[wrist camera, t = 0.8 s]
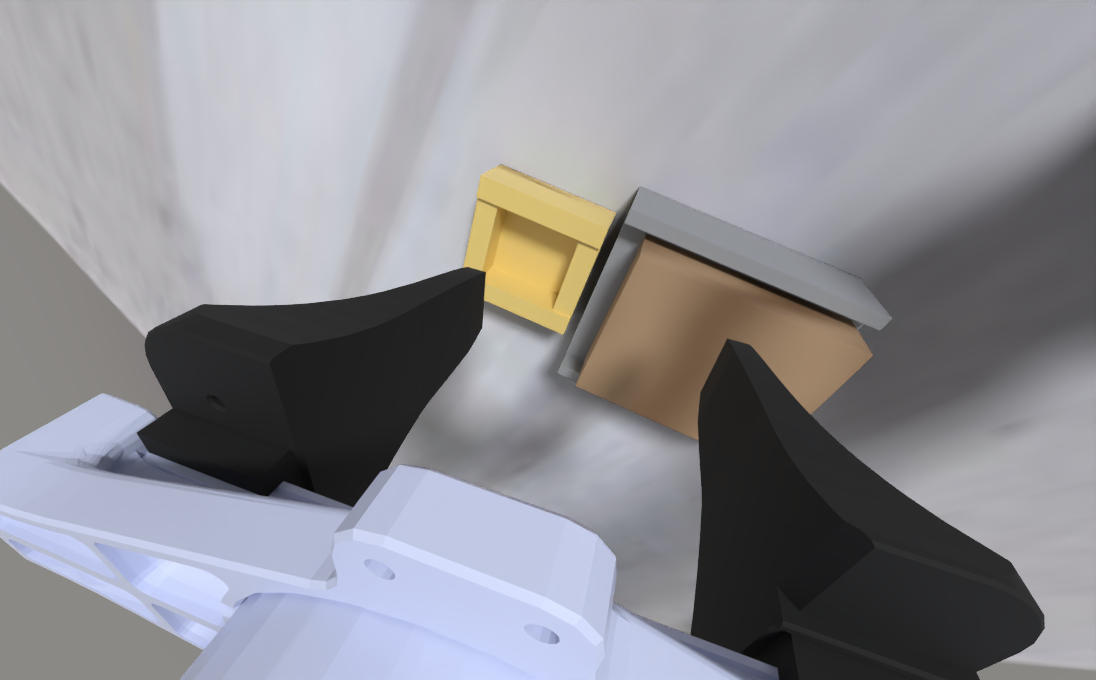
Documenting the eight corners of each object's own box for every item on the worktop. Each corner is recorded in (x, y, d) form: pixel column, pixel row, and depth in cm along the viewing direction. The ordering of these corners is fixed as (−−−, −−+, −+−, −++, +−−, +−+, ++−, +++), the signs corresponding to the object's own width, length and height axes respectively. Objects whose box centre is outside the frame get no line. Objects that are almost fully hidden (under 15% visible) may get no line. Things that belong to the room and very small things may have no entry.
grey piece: (860, 278, 18) (892, 318, 15) (742, 410, 24) (749, 458, 21) (639, 186, 19) (630, 208, 16) (573, 336, 24) (557, 373, 21)
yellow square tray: (616, 212, 20) (608, 228, 18) (573, 312, 23) (563, 334, 21) (501, 164, 20) (481, 174, 18) (476, 270, 24) (457, 288, 22)
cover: (851, 320, 17) (873, 355, 15) (749, 427, 21) (756, 466, 19) (645, 233, 17) (640, 256, 15) (586, 355, 21) (575, 386, 19)
